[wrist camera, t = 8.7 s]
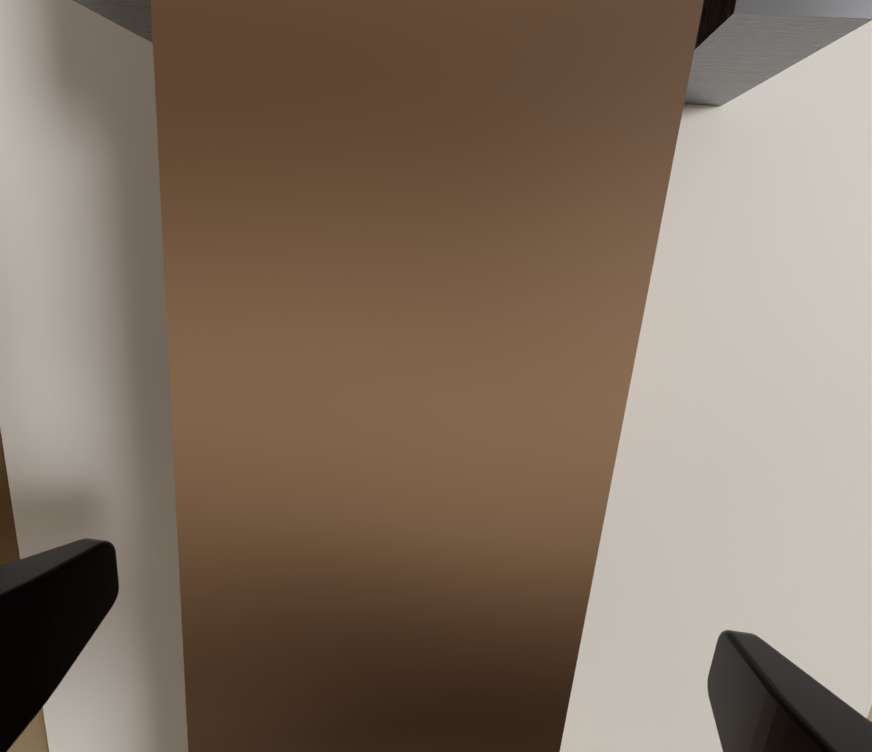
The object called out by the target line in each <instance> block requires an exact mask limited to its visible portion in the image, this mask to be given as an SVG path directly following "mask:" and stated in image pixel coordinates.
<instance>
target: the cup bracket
mask: <svg viewBox="0 0 872 752" xmlns="http://www.w3.org/2000/svg"><path fill="white" fill-rule="evenodd" d="M73 1H75V2H77V3H79V4H80V5H82V6H84V7H86V8H88V9H90V10H92V11H94V12H95V13H97V14H99V15H101V16H103V17H105V18H107V19H108V20H110V21H112V22H114V23H116V24H118V25H120V26H122V27H123V28H125V29H127V30H129V31H131V32H133V33H135V34H136V35H138V36H140V37H142V38H144V39H146V40H148V41H149V42H151V43H153V37H152V17H151V0H73ZM871 20H872V0H704V2H703V8H702V13H701V18H700V23H699V29H698V34H697V39H696V44H695V49H694V55H693V60H692V65H691V70H690V75H689V81H688V86H687V91H686V96H685V101H684V104H691V105H709V106H722V105H724V104H726V103H727V102H729V101H731V100H733V99H734V98H736V97H738V96H740V95H741V94H743V93H745V92H747V91H748V90H750V89H752V88H754V87H755V86H757V85H759V84H761V83H763V82H764V81H766V80H768V79H770V78H771V77H773V76H775V75H777V74H778V73H780V72H782V71H784V70H785V69H787V68H789V67H791V66H792V65H794V64H796V63H798V62H799V61H801V60H803V59H805V58H806V57H808V56H810V55H812V54H813V53H815V52H817V51H819V50H820V49H822V48H824V47H826V46H827V45H829V44H831V43H833V42H834V41H836V40H838V39H840V38H841V37H843V36H845V35H847V34H848V33H850V32H852V31H854V30H855V29H857V28H859V27H861V26H862V25H864V24H866V23H868V22H870V21H871Z"/></svg>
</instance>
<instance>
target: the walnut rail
mask: <svg viewBox="0 0 872 752" xmlns="http://www.w3.org/2000/svg"><path fill="white" fill-rule="evenodd" d="M703 2H704V0H151V17H152V37H153V57H154V77H155V97H156V117H157V137H158V157H159V177H160V197H161V217H162V237H163V257H164V277H165V297H166V317H167V337H168V357H169V377H170V397H171V417H172V437H173V457H174V477H175V497H176V517H177V537H178V557H179V577H180V597H181V617H182V637H183V657H184V677H185V697H186V717H187V737H188V752H560V747H561V742H562V737H563V732H564V726H565V721H566V716H567V711H568V705H569V700H570V695H571V690H572V685H573V679H574V674H575V669H576V664H577V659H578V653H579V648H580V643H581V638H582V633H583V627H584V622H585V617H586V612H587V607H588V601H589V596H590V591H591V586H592V580H593V575H594V570H595V565H596V560H597V554H598V549H599V544H600V539H601V534H602V528H603V523H604V518H605V513H606V508H607V502H608V497H609V492H610V487H611V482H612V476H613V471H614V466H615V461H616V456H617V450H618V445H619V440H620V435H621V429H622V424H623V419H624V414H625V409H626V403H627V398H628V393H629V388H630V383H631V377H632V372H633V367H634V362H635V357H636V351H637V346H638V341H639V336H640V331H641V325H642V320H643V315H644V310H645V304H646V299H647V294H648V289H649V284H650V278H651V273H652V268H653V263H654V258H655V252H656V247H657V242H658V237H659V232H660V226H661V221H662V216H663V211H664V206H665V200H666V195H667V190H668V185H669V180H670V174H671V169H672V164H673V159H674V153H675V148H676V143H677V138H678V133H679V127H680V122H681V117H682V112H683V107H684V101H685V96H686V91H687V86H688V81H689V75H690V70H691V65H692V60H693V55H694V49H695V44H696V39H697V34H698V29H699V23H700V18H701V13H702V8H703Z"/></svg>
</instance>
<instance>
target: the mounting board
mask: <svg viewBox="0 0 872 752" xmlns="http://www.w3.org/2000/svg"><path fill="white" fill-rule="evenodd" d="M0 430H1V436H2V443H3V449H4V456H5V463H6V469H7V476H8V482H9V489H10V496H11V502H12V509H13V515H14V522H15V528H16V535H17V542H18V548H19V555H20V559H23V558H26V557H29V556H32V555H35V554H38V553H41V552H44V551H47V550H50V549H53V548H56V547H59V546H62V545H65V544H68V543H71V542H74V541H77V540H80V539H85V538H90V539H97V540H104V541H109V542H111V543H112V544H113V545H114V547H115V550H116V559H117V569H118V579H119V592H118V596H117V599H116V601H115V603H114V605H113V606H112V608H111V609H110V611H109V612H108V614H107V615H106V617H105V618H104V620H103V621H102V623H101V624H100V625H99V627H98V628H97V630H96V631H95V633H94V634H93V636H92V637H91V639H90V640H89V642H88V643H87V645H86V646H85V648H84V649H83V650H82V652H81V653H80V655H79V656H78V658H77V659H76V661H75V662H74V664H73V665H72V667H71V668H70V670H69V671H68V672H67V674H66V675H65V677H64V678H63V680H62V681H61V683H60V684H59V686H58V687H57V688H56V690H55V691H54V692H53V694H52V695H51V697H50V698H49V699H48V701H47V702H46V703H45V705H44V706H43V713H44V719H45V726H46V733H47V739H48V746H49V752H188V737H187V717H186V697H185V677H184V657H183V637H182V617H181V597H180V577H179V557H178V537H177V517H176V497H175V477H174V457H173V437H172V417H171V397H170V377H169V357H168V337H167V317H166V297H165V277H164V257H163V237H162V217H161V197H160V177H159V157H158V137H157V117H156V97H155V77H154V57H153V43H151V42H149V41H148V40H146V39H144V38H142V37H140V36H138V35H136V34H135V33H133V32H131V31H129V30H127V29H125V28H123V27H122V26H120V25H118V24H116V23H114V22H112V21H110V20H108V19H107V18H105V17H103V16H101V15H99V14H97V13H95V12H94V11H92V10H90V9H88V8H86V7H84V6H82V5H80V4H79V3H77V2H75V1H73V0H0ZM725 630H732V631H739V632H747V633H752V634H755V635H757V636H758V637H760V638H761V639H762V640H764V641H765V642H766V643H768V644H769V645H770V646H772V647H773V648H774V649H776V650H777V651H778V652H779V653H781V654H782V655H783V656H785V657H786V658H787V659H789V660H790V661H791V662H793V663H794V664H795V665H797V666H798V667H799V668H801V669H802V670H803V671H805V672H806V673H807V674H809V675H810V676H811V677H812V678H814V679H815V680H816V681H818V682H819V683H820V684H822V685H823V686H824V687H826V688H827V689H828V690H830V691H831V692H832V693H834V694H835V695H836V696H838V697H839V698H840V699H842V700H843V701H844V702H845V703H847V704H848V705H849V706H851V707H852V708H853V709H855V710H856V711H857V712H859V713H860V714H861V715H863V716H864V717H865V718H867V716H868V713H869V711H870V708H871V705H872V20H871V21H870V22H868V23H866V24H864V25H862V26H861V27H859V28H857V29H855V30H854V31H852V32H850V33H848V34H847V35H845V36H843V37H841V38H840V39H838V40H836V41H834V42H833V43H831V44H829V45H827V46H826V47H824V48H822V49H820V50H819V51H817V52H815V53H813V54H812V55H810V56H808V57H806V58H805V59H803V60H801V61H799V62H798V63H796V64H794V65H792V66H791V67H789V68H787V69H785V70H784V71H782V72H780V73H778V74H777V75H775V76H773V77H771V78H770V79H768V80H766V81H764V82H763V83H761V84H759V85H757V86H755V87H754V88H752V89H750V90H748V91H747V92H745V93H743V94H741V95H740V96H738V97H736V98H734V99H733V100H731V101H729V102H727V103H726V104H724V105H722V106H709V105H691V104H684V107H683V112H682V117H681V122H680V127H679V133H678V138H677V143H676V148H675V153H674V159H673V164H672V169H671V174H670V180H669V185H668V190H667V195H666V200H665V206H664V211H663V216H662V221H661V226H660V232H659V237H658V242H657V247H656V252H655V258H654V263H653V268H652V273H651V278H650V284H649V289H648V294H647V299H646V304H645V310H644V315H643V320H642V325H641V331H640V336H639V341H638V346H637V351H636V357H635V362H634V367H633V372H632V377H631V383H630V388H629V393H628V398H627V403H626V409H625V414H624V419H623V424H622V429H621V435H620V440H619V445H618V450H617V456H616V461H615V466H614V471H613V476H612V482H611V487H610V492H609V497H608V502H607V508H606V513H605V518H604V523H603V528H602V534H601V539H600V544H599V549H598V554H597V560H596V565H595V570H594V575H593V580H592V586H591V591H590V596H589V601H588V607H587V612H586V617H585V622H584V627H583V633H582V638H581V643H580V648H579V653H578V659H577V664H576V669H575V674H574V679H573V685H572V690H571V695H570V700H569V705H568V711H567V716H566V721H565V726H564V732H563V737H562V742H561V747H560V752H723V750H722V747H721V743H720V739H719V735H718V731H717V727H716V723H715V719H714V716H713V712H712V708H711V704H710V700H709V696H708V689H707V680H708V674H709V670H710V666H711V663H712V659H713V655H714V651H715V647H716V643H717V640H718V637H719V635H720V633H721V632H723V631H725Z"/></svg>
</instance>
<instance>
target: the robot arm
mask: <svg viewBox="0 0 872 752" xmlns="http://www.w3.org/2000/svg"><path fill="white" fill-rule="evenodd" d="M118 592H119V579H118V569H117V559H116V550H115V547H114V545H113V544H112V543H111V542H109V541H104V540H97V539H90V538H85V539H80V540H77V541H74V542H71V543H68V544H65V545H62V546H59V547H56V548H53V549H50V550H47V551H44V552H41V553H38V554H35V555H32V556H29V557H26V558H23V559H20V560H17V561H14V562H11V563H8V564H5V565H2V566H0V752H7V751H8V750H9V748H10V747H11V746H12V745H13V743H14V742H15V741H16V740H17V739H18V737H19V736H20V735H21V734H22V732H23V731H24V730H25V729H26V727H27V726H28V725H29V724H30V722H31V721H32V720H33V719H34V718H35V716H36V715H37V714H38V712H39V711H40V710H41V709H42V707H43V706H44V705H45V703H46V702H47V701H48V699H49V698H50V697H51V695H52V694H53V692H54V691H55V690H56V688H57V687H58V686H59V684H60V683H61V681H62V680H63V678H64V677H65V675H66V674H67V672H68V671H69V670H70V668H71V667H72V665H73V664H74V662H75V661H76V659H77V658H78V656H79V655H80V653H81V652H82V650H83V649H84V648H85V646H86V645H87V643H88V642H89V640H90V639H91V637H92V636H93V634H94V633H95V631H96V630H97V628H98V627H99V625H100V624H101V623H102V621H103V620H104V618H105V617H106V615H107V614H108V612H109V611H110V609H111V608H112V606H113V605H114V603H115V601H116V599H117V596H118ZM707 689H708V696H709V700H710V704H711V708H712V712H713V716H714V719H715V723H716V727H717V731H718V735H719V739H720V743H721V747H722V750H723V752H872V722H871V721H869V720H868V719H867V718H865V717H864V716H863V715H861V714H860V713H859V712H857V711H856V710H855V709H853V708H852V707H851V706H849V705H848V704H847V703H845V702H844V701H843V700H842V699H840V698H839V697H838V696H836V695H835V694H834V693H832V692H831V691H830V690H828V689H827V688H826V687H824V686H823V685H822V684H820V683H819V682H818V681H816V680H815V679H814V678H812V677H811V676H810V675H809V674H807V673H806V672H805V671H803V670H802V669H801V668H799V667H798V666H797V665H795V664H794V663H793V662H791V661H790V660H789V659H787V658H786V657H785V656H783V655H782V654H781V653H779V652H778V651H777V650H776V649H774V648H773V647H772V646H770V645H769V644H768V643H766V642H765V641H764V640H762V639H761V638H760V637H758V636H757V635H755V634H752V633H747V632H739V631H732V630H725V631H723V632H721V633H720V635H719V637H718V640H717V643H716V647H715V651H714V655H713V659H712V663H711V666H710V670H709V674H708V680H707Z"/></svg>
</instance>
